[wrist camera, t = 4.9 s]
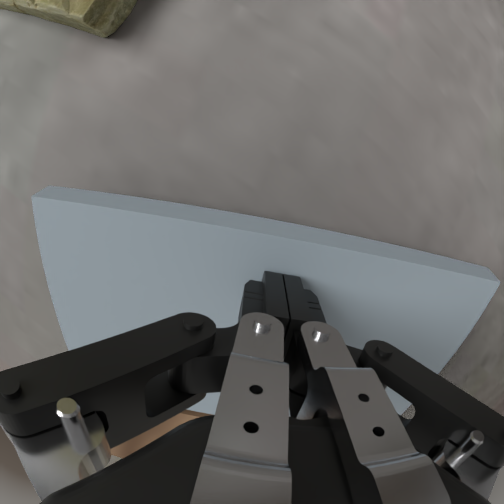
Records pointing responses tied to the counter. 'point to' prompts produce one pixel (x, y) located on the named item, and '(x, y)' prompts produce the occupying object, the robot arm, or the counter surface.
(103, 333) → the grey plank
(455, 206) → the counter surface
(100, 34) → the decorative tile
